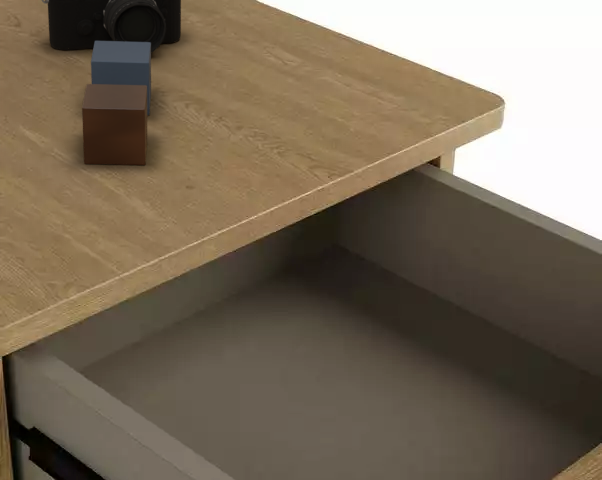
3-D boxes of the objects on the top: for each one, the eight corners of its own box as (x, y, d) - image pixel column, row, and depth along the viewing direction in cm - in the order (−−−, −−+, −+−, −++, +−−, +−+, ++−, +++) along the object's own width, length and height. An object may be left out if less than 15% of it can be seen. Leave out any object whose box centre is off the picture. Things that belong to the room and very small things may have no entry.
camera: (53, 66, 124) (49, -16, 119) (41, 39, 129) (36, -40, 125) (198, 56, 128) (199, -24, 124) (180, 30, 134) (181, -46, 129)
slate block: (92, 114, 115) (90, 61, 112) (96, 92, 119) (94, 40, 116) (149, 115, 115) (149, 62, 113) (151, 93, 119) (150, 42, 117)
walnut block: (84, 164, 106) (81, 107, 104) (88, 138, 110) (86, 83, 108) (145, 165, 107) (144, 109, 104) (147, 139, 111) (147, 84, 108)
